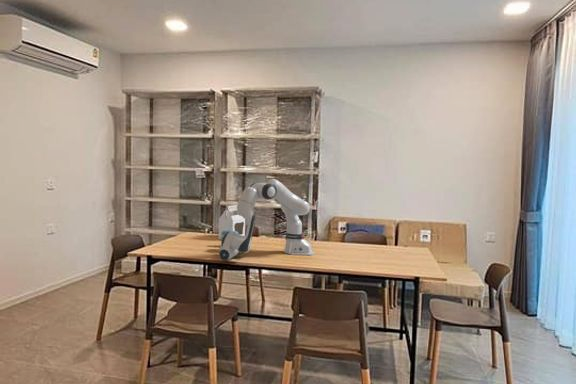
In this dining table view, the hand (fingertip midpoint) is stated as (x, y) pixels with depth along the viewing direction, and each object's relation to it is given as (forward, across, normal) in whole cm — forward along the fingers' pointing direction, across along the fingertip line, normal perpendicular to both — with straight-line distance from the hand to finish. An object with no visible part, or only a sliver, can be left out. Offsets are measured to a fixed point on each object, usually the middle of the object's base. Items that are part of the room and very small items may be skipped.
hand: (238, 246), depth 304 cm
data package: (+23, +14, +6) cm, 28 cm away
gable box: (+58, +24, +6) cm, 63 cm away
